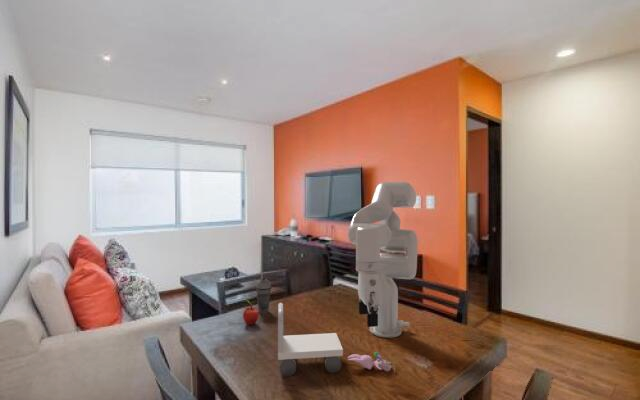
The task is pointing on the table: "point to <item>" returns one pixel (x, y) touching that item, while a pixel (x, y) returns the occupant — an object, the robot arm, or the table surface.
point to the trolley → (307, 348)
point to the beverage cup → (263, 294)
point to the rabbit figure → (368, 361)
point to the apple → (250, 315)
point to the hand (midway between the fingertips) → (367, 319)
